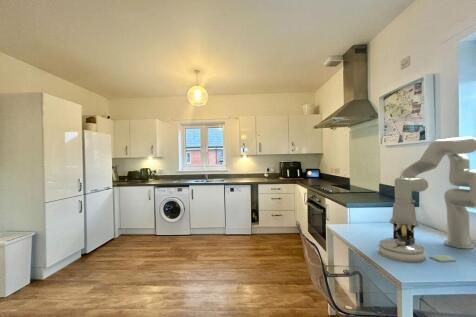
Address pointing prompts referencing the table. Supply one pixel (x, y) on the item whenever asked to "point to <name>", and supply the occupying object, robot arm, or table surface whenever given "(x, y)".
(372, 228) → the table surface
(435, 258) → the mat
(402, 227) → the brass rounded cylinder
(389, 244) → the grey round shallow disc
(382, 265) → the table surface
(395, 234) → the ammunition clip
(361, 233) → the table surface
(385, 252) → the chuck housing
